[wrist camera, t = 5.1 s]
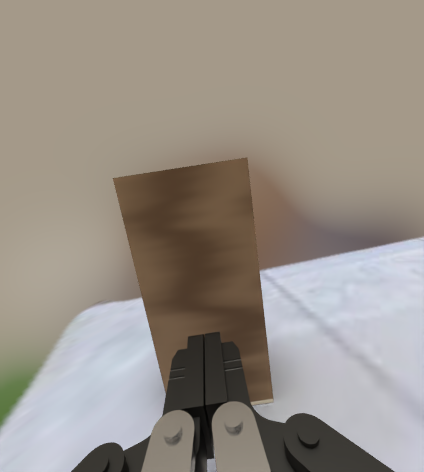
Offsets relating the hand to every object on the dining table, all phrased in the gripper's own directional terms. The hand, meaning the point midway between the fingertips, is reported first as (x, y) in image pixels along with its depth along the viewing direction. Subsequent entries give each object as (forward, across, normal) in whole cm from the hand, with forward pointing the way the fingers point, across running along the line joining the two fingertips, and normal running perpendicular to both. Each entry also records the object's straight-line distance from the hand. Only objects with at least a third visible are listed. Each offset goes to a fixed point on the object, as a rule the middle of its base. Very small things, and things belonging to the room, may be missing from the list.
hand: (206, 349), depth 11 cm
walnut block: (+5, 0, +8) cm, 9 cm away
